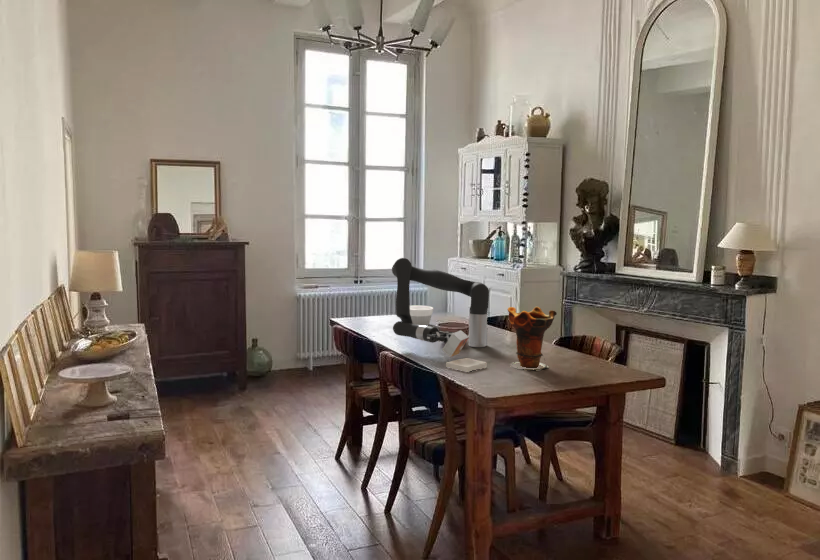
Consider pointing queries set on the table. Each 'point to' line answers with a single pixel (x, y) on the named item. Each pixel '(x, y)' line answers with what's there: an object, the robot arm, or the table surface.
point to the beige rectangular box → (466, 364)
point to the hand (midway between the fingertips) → (453, 338)
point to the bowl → (421, 314)
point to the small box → (455, 343)
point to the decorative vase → (530, 335)
